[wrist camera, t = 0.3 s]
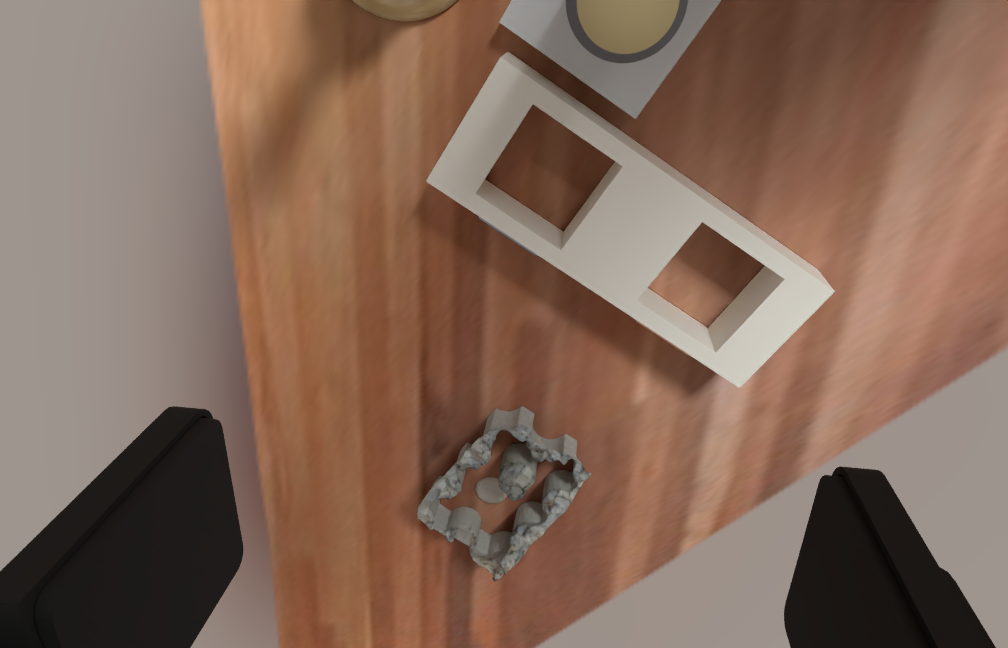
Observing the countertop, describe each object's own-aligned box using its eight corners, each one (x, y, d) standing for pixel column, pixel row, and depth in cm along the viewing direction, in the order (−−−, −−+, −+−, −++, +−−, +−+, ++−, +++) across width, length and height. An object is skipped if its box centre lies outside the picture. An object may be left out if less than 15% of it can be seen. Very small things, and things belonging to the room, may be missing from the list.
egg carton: (502, 544, 49) (494, 589, 46) (415, 486, 48) (400, 528, 44) (601, 453, 45) (601, 495, 41) (509, 386, 44) (500, 424, 40)
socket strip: (508, 51, 35) (500, 57, 32) (817, 269, 38) (834, 291, 35) (436, 170, 38) (423, 184, 35) (727, 363, 41) (736, 390, 38)
